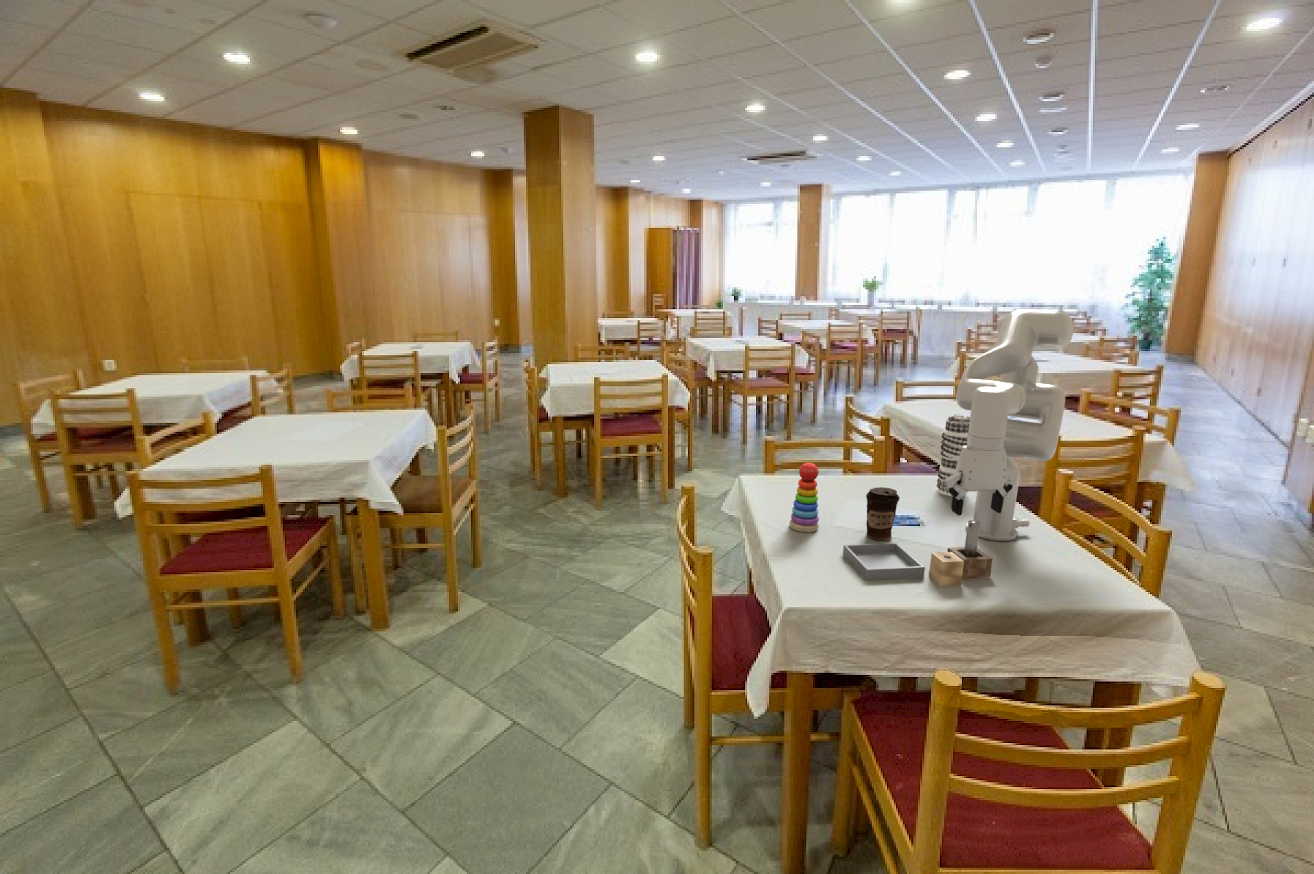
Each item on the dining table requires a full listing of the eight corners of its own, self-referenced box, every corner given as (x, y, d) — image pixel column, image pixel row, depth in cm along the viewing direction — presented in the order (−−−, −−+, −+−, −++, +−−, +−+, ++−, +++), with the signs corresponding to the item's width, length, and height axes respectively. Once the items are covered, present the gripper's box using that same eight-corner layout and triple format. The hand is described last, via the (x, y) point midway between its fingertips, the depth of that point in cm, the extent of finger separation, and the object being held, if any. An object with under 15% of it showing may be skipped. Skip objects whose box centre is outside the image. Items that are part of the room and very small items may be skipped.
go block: (972, 565, 162) (975, 546, 160) (989, 578, 155) (992, 558, 154) (945, 566, 161) (947, 547, 160) (961, 580, 154) (964, 560, 153)
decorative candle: (931, 492, 213) (940, 416, 207) (939, 485, 220) (948, 411, 214) (961, 498, 208) (971, 420, 201) (968, 491, 215) (978, 415, 208)
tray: (896, 552, 168) (897, 542, 167) (923, 577, 155) (925, 567, 154) (842, 554, 166) (843, 544, 166) (866, 579, 153) (867, 569, 152)
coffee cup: (897, 544, 173) (902, 497, 169) (864, 541, 174) (868, 494, 171) (892, 531, 181) (897, 486, 178) (861, 529, 183) (865, 484, 179)
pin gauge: (970, 566, 159) (976, 519, 156) (976, 571, 157) (982, 523, 154) (959, 567, 159) (965, 520, 156) (965, 572, 156) (972, 524, 153)
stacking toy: (783, 528, 183) (787, 462, 178) (798, 520, 189) (802, 456, 184) (809, 535, 178) (814, 468, 173) (823, 527, 184) (828, 462, 179)
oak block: (948, 575, 156) (952, 551, 154) (960, 585, 151) (964, 561, 149) (928, 576, 155) (931, 552, 154) (939, 586, 150) (943, 561, 149)
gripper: (1011, 435, 154) (1001, 504, 159) (940, 439, 153) (932, 508, 158) (1032, 445, 147) (1021, 516, 152) (958, 448, 146) (949, 520, 150)
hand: (976, 512), depth 155 cm, fingers open, 9 cm apart
